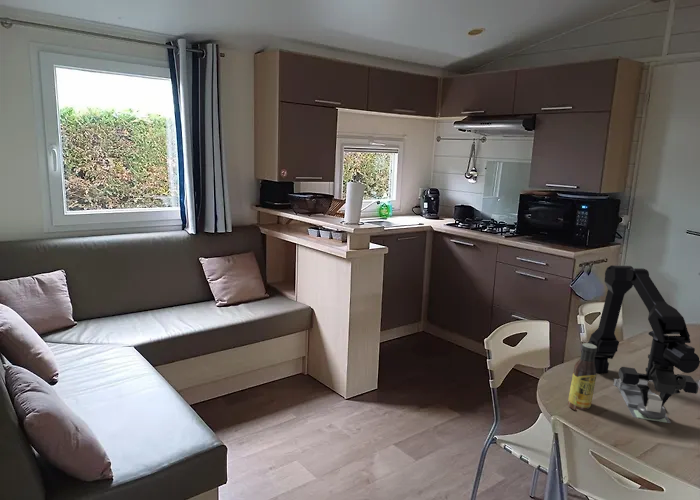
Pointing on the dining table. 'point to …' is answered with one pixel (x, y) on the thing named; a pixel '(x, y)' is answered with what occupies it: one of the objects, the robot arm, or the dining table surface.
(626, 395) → the socket base
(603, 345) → the robot arm
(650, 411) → the plug
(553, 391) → the dining table surface
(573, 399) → the sauce bottle
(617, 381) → the pivoting lever handle
